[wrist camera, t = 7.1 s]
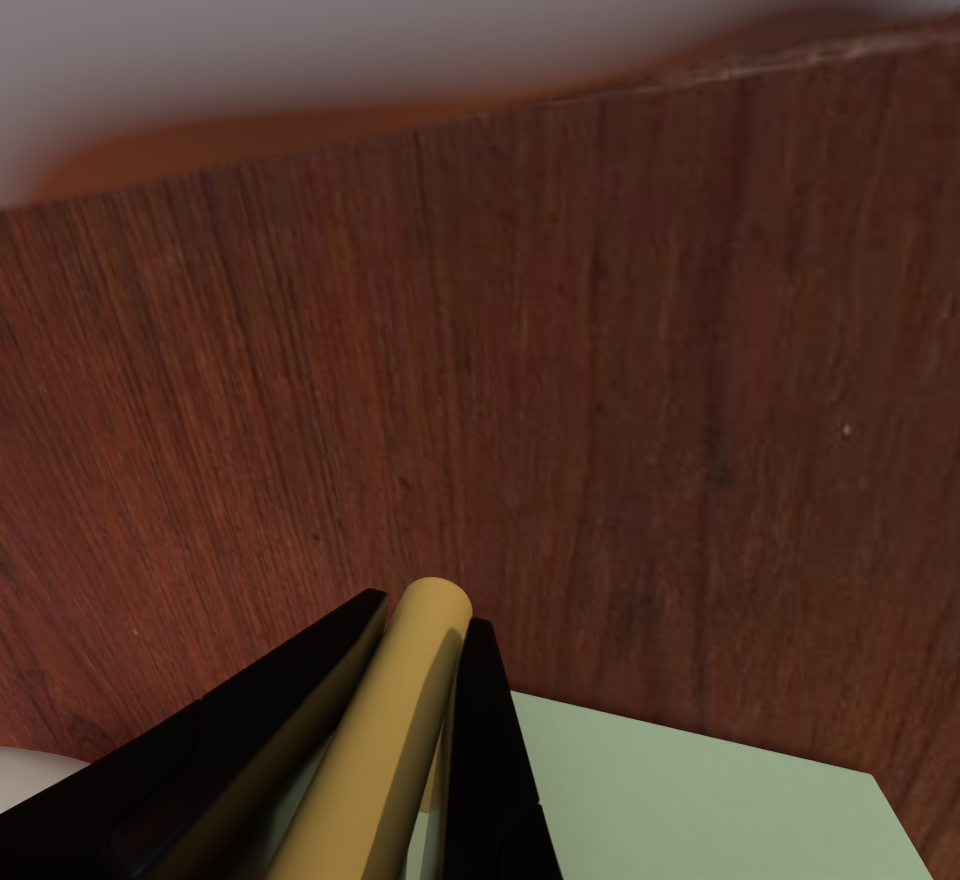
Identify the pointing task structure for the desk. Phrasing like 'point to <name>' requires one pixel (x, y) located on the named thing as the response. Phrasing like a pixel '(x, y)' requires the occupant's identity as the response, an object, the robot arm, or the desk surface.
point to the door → (578, 784)
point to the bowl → (31, 773)
